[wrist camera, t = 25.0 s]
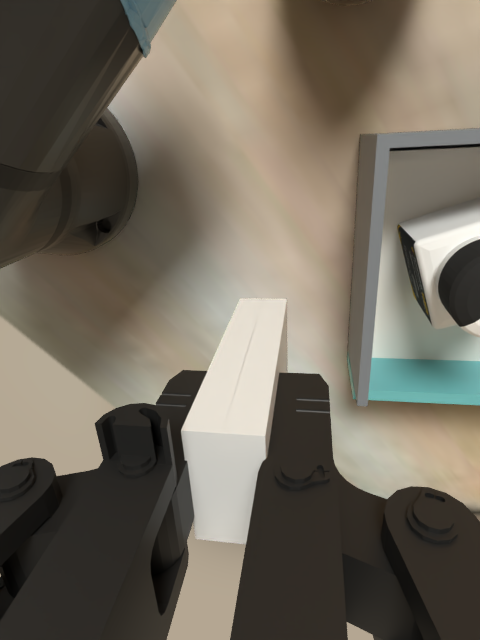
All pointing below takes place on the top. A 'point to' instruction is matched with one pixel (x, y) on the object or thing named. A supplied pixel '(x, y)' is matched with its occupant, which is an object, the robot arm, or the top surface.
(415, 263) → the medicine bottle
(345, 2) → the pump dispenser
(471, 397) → the tray
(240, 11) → the top surface
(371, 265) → the bay
